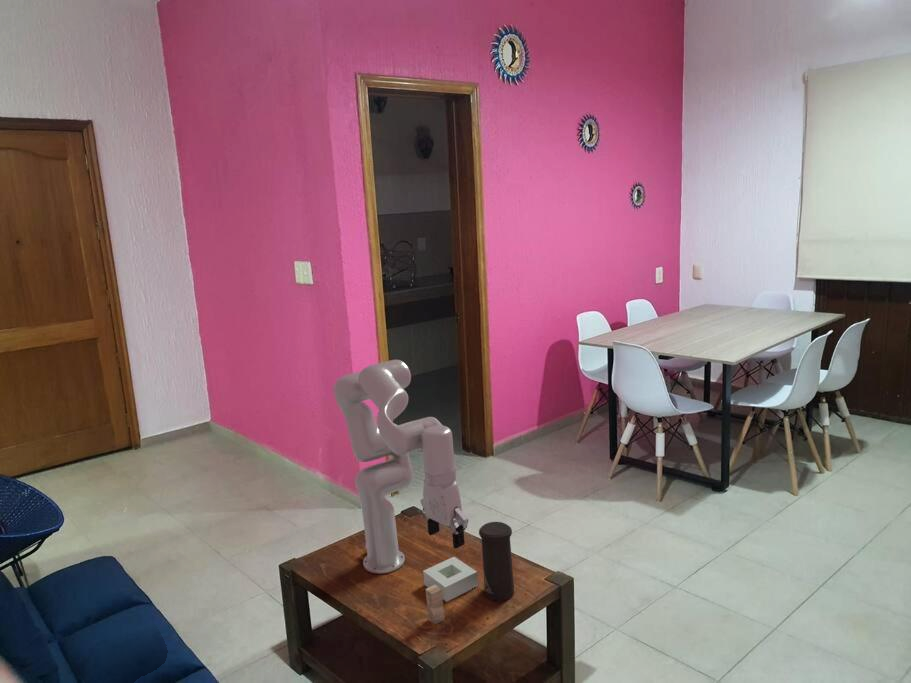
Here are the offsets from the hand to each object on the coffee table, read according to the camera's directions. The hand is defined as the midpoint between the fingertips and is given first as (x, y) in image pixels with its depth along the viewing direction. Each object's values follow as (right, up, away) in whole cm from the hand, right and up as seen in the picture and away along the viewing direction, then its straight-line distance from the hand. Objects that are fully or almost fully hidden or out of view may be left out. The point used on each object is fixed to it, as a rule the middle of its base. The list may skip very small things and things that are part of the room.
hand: (446, 539), depth 171 cm
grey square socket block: (+1, -20, +24) cm, 31 cm away
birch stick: (-3, -24, +9) cm, 25 cm away
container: (+15, -20, +19) cm, 31 cm away
